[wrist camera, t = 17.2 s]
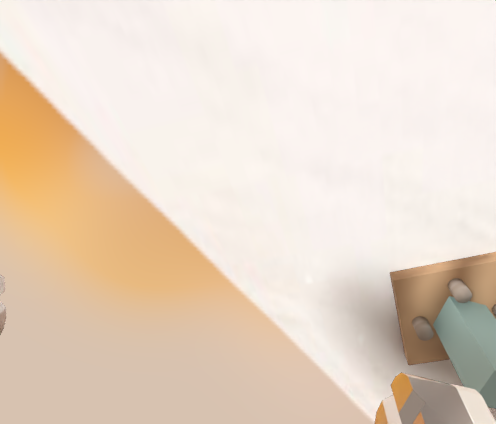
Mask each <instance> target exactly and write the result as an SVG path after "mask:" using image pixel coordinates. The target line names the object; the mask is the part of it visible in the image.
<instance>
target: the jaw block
mask: <svg viewBox="0 0 496 424" xmlns="http://www.w3.org/2000/svg"><path fill="white" fill-rule="evenodd" d="M433 326H434V328H435V330H436V332H437V334H438V336H439V338H440V340H441V342H442V344H443V346H444V348H445V350H446V352H447V354H448V356H449V358H450V360H451V362H452V364H453V366H454V368H455V370H456V372H457V374H458V376H459V378H460V380H461V382H462V384H463V386H464V387H467V388H471V389H475V390H476V391H477V392H478V393H480V394H481V395H482V397H483V399H484V401H485V403H486V404H487V406H488V407H490V408H495V409H496V319H495V317H494V316H493V314H492V313H491V312H490V310H489V309H488V308H487V306H486V305H483V304H479V303H475V302H471V301H468V302H466V303H459V302H457V301H456V300H455V298H454V297H451V296H449V297H448V299H447V301H446V302H445V304H444V306H443V308H442V309H441V311H440V313H439V315H438V317H437V318H436V320H435V322H434V324H433Z"/></svg>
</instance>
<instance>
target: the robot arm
mask: <svg viewBox="0 0 496 424" xmlns="http://www.w3.org/2000/svg"><path fill="white" fill-rule="evenodd" d="M4 291H5V282H4V277H3V276H2V275H0V295H1V294H2V293H3V292H4ZM5 320H6V307H5V306H4V305H3V303H2V302H1V301H0V335H1V333H2V331H3V329H4V325H5ZM391 388H392V392H393V395H392V396H390V397H388V398H386V399H384V400H382V402H381V404H380V406H379V408H378V410H377V412H376V418H375V424H496V421H495V419H494V417H493V415H492V414H491V412H490V410H489V408H488V406H487V404H486V403H485V401H484V399H483V397H482V395H481V394H480V393H478V392H477V391H476V390H475V389H471V388H467V387H462V386H458V385H454V384H447V383H444V382H439V381H435V380H431V379H427V378H423V377H418V376H414V375H410V374H406V373H402V372H401V373H400V374H398V375H397V376H396V377H395V379H394V380H393V382H392V384H391Z"/></svg>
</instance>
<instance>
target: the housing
mask: <svg viewBox="0 0 496 424" xmlns="http://www.w3.org/2000/svg"><path fill="white" fill-rule="evenodd" d="M390 276H391V282H392V287H393V293H394V298H395V303H396V309H397V314H398V320H399V325H400V330H401V336H402V341H403V347H404V352H405V357H406V359H407V362H408V365H413V364H420V363H427V362H434V361H440V360H447V359H450V358H449V356H448V354H447V352H446V350H445V348H444V346H443V344H442V342H441V340H440V338H439V336H438V334H437V332H436V330H435V328H434V326H433V324H434V322H435V320H436V318H437V317H438V315H439V313H440V311H441V309H442V308H443V306H444V304H445V302H446V301H447V299H448V297H449V296H451V297H454V298H455V300H456V301H457V302H459V303H466V302H468V301H471V302H475V303H479V304H483V305H486V306H487V308H488V309H489V310H490V312H491V313H492V314H493V316H494V317H495V319H496V252H494V253H488V254H483V255H478V256H473V257H468V258H463V259H457V260H452V261H447V262H442V263H437V264H432V265H426V266H421V267H416V268H411V269H406V270H401V271H395V272H390Z"/></svg>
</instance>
